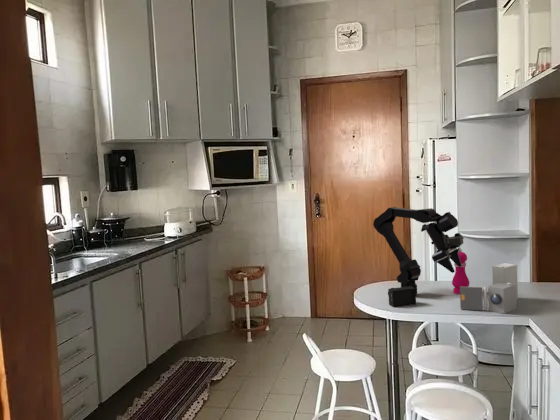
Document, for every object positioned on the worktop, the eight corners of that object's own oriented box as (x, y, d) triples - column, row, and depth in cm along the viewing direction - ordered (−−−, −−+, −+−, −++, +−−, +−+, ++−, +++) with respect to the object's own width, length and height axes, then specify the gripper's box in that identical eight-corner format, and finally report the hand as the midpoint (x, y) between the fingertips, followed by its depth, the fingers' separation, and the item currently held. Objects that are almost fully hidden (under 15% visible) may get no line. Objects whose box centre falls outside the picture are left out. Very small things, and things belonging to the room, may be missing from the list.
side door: (487, 309, 177) (486, 287, 177) (487, 310, 176) (486, 288, 175) (460, 308, 181) (460, 286, 181) (460, 309, 180) (459, 287, 179)
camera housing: (486, 311, 176) (486, 285, 176) (501, 305, 183) (500, 280, 182) (502, 314, 171) (501, 287, 171) (516, 308, 178) (516, 282, 177)
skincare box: (506, 297, 194) (505, 262, 193) (519, 300, 189) (518, 264, 188) (492, 300, 190) (491, 265, 189) (505, 303, 185) (503, 267, 184)
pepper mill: (466, 290, 208) (465, 246, 207) (471, 294, 201) (470, 249, 200) (450, 290, 209) (449, 247, 208) (454, 294, 202) (453, 250, 201)
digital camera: (409, 301, 196) (409, 285, 196) (416, 304, 191) (415, 288, 191) (387, 304, 194) (386, 287, 194) (393, 307, 189) (392, 290, 188)
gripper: (446, 232, 180) (467, 267, 178) (461, 223, 195) (480, 256, 192) (423, 244, 187) (443, 278, 184) (438, 234, 202) (457, 266, 199)
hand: (457, 269), depth 190 cm, fingers open, 9 cm apart
